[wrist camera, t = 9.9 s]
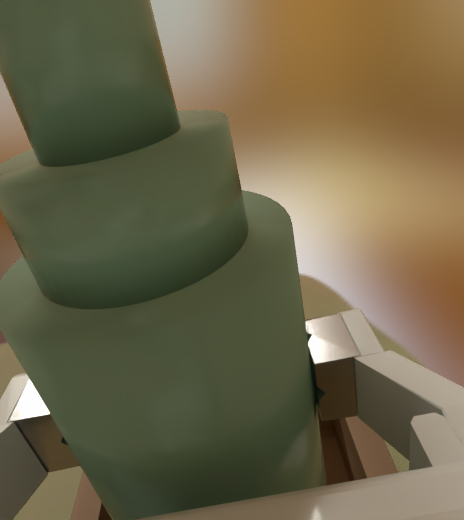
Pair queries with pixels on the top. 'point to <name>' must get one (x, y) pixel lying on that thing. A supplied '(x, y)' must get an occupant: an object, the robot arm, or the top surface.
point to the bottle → (148, 273)
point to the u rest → (334, 452)
